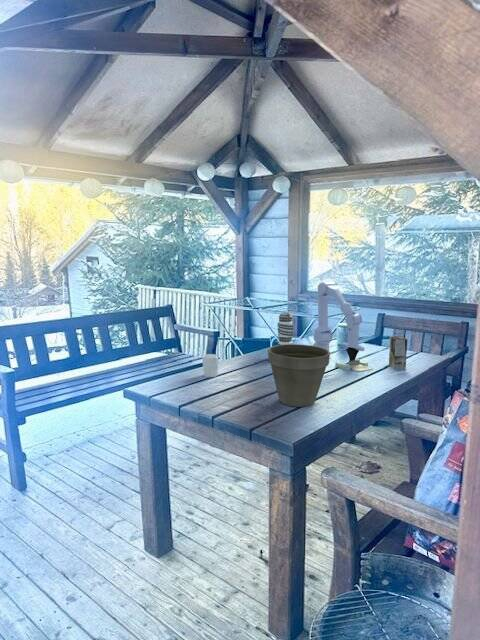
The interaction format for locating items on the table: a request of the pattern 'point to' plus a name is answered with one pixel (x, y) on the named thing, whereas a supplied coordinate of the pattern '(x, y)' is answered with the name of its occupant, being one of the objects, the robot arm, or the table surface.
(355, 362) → the sliding lid with handle
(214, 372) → the white cup
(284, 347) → the plant pot
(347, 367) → the box
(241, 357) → the table surface
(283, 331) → the decorative candle
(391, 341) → the coffee box
